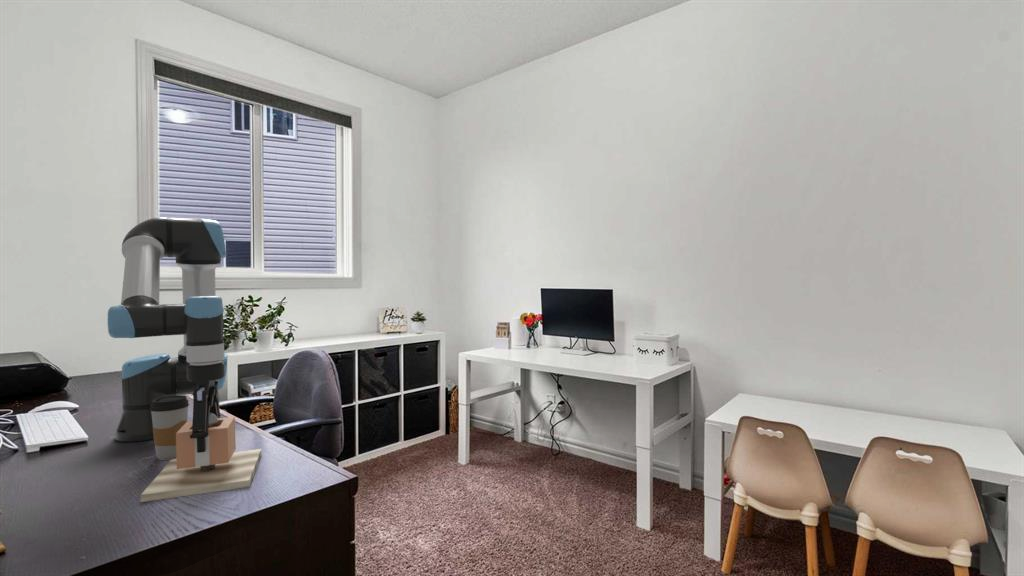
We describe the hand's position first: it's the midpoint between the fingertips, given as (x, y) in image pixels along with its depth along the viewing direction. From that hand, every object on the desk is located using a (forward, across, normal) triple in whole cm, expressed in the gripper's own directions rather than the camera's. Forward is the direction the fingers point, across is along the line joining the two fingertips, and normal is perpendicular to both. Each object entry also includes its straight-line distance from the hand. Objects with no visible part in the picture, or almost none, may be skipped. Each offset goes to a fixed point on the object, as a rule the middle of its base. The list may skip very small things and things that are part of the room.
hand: (207, 457), depth 117 cm
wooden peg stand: (+4, 0, 0) cm, 4 cm away
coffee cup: (+4, -19, -12) cm, 23 cm away
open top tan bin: (0, 0, 0) cm, 0 cm away
